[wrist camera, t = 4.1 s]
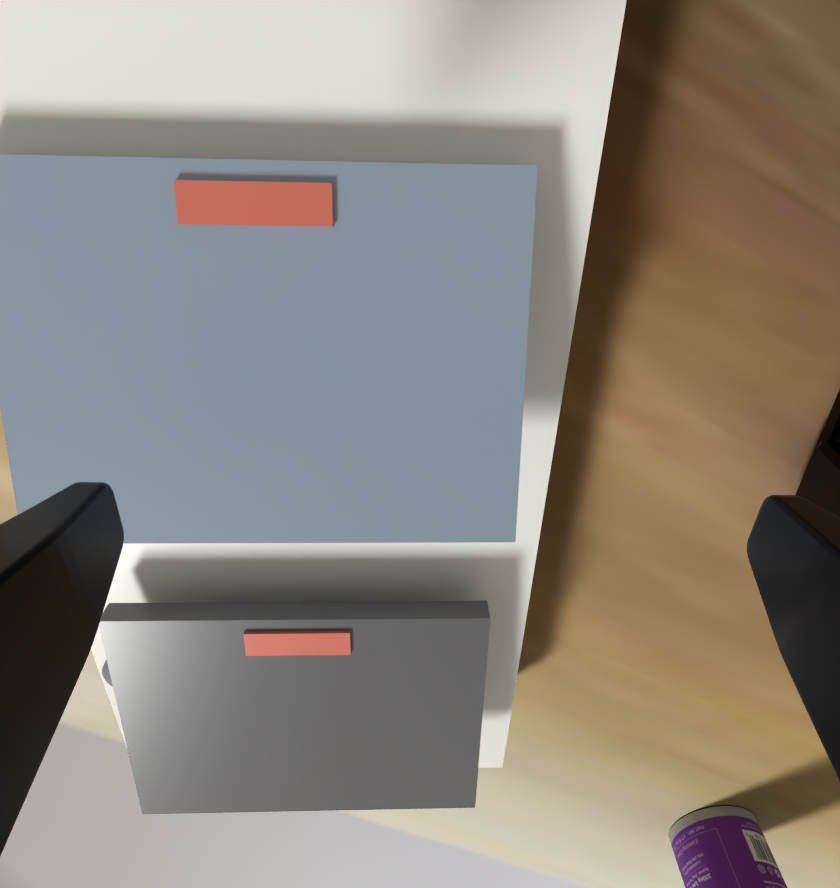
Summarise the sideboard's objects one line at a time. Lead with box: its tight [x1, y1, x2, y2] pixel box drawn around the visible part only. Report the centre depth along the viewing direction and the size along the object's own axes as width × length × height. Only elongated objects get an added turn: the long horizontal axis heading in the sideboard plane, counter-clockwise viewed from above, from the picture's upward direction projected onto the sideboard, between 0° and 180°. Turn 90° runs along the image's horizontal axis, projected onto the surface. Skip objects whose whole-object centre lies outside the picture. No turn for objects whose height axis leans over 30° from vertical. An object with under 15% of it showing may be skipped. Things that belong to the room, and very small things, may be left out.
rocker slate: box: [0, 154, 538, 544], centre depth 15 cm, size 11×8×2 cm
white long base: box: [0, 0, 627, 768], centre depth 20 cm, size 14×25×4 cm, turn 179°
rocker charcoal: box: [99, 601, 490, 814], centre depth 21 cm, size 11×8×2 cm
